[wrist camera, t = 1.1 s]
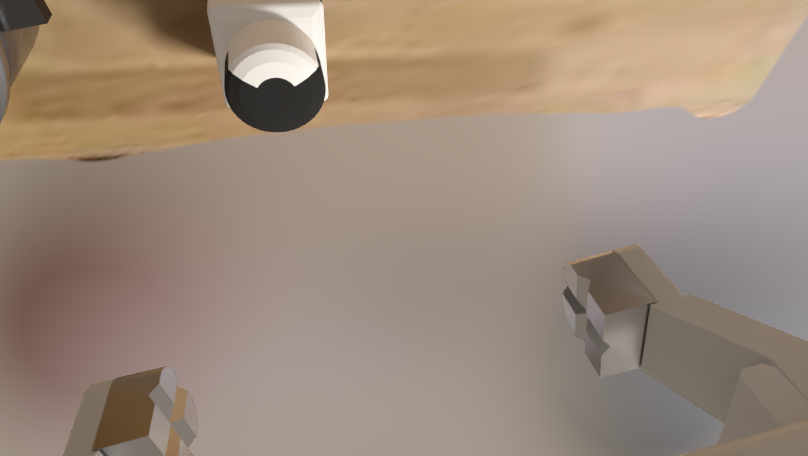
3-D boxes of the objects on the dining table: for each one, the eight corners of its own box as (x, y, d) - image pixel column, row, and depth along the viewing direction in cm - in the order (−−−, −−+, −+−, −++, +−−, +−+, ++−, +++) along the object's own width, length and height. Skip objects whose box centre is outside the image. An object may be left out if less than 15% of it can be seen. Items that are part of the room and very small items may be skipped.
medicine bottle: (318, 56, 45) (338, 140, 37) (226, 62, 44) (225, 151, 35) (312, -37, 40) (333, 36, 32) (208, -34, 39) (202, 43, 30)
